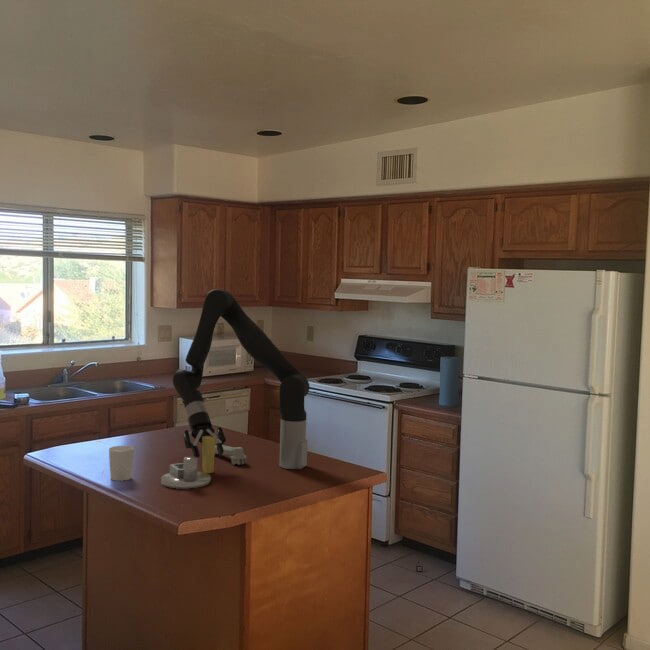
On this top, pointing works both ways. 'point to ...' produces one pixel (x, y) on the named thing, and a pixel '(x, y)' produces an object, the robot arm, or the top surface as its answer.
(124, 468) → the white cup
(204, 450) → the yellow block
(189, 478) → the round grey holder stand
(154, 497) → the top surface
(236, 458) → the white long round-headed device
